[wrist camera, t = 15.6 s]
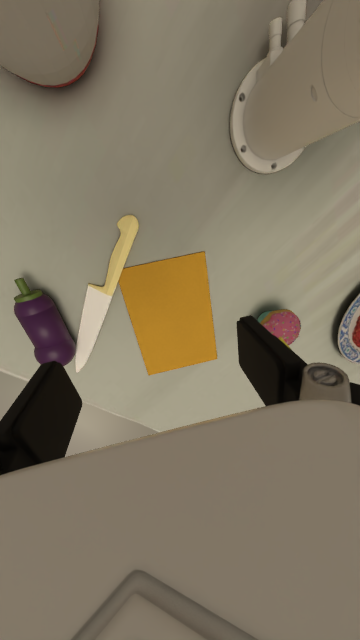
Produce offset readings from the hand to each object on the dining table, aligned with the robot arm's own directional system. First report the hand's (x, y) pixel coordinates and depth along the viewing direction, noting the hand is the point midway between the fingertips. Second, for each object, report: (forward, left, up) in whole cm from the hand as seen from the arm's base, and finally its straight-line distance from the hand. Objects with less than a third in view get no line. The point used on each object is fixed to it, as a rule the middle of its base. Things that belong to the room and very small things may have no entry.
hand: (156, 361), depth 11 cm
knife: (+5, -11, -28) cm, 31 cm away
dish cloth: (+12, +2, -28) cm, 31 cm away
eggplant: (+6, -19, -28) cm, 35 cm away
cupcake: (+17, +22, -28) cm, 40 cm away
